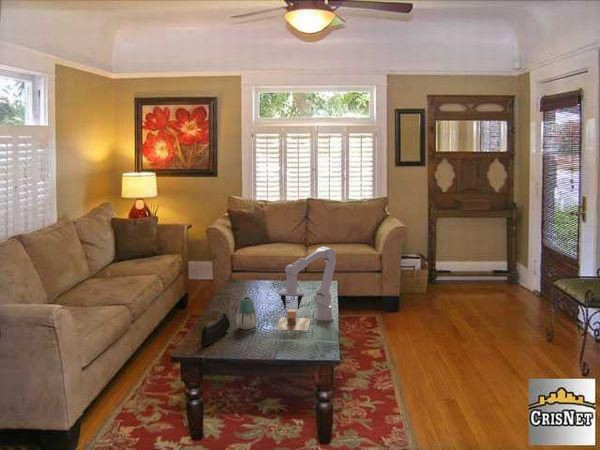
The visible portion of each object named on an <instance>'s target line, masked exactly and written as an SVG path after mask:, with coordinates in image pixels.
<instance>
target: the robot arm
mask: <svg viewBox="0 0 600 450" xmlns="http://www.w3.org/2000/svg"><path fill="white" fill-rule="evenodd" d="M336 255H337V253H336V251H335V250H334V248H330V247H327V246H324V245H323V246H320V247H318V248H317V249H316V250H315V251H313V252H312V253H310V254H309V255H308V256H306V257H299V258H298V259H297V260H296V261H295V262H292V263H290V264H287V265H286V266H285V269H284V272H285V273H286V291H279V292H278V297H280V299H281V302H282V304H283V307H284V309H286V308H287V297H297V310H299V309H300V305H301V302H302V300H303V298H304V297H305V292H300V291H299V292H298V291H297V289H298V288H297V287H298V286H297V283H298V282H297V281H298V280H297V276H298V274H299V272H300V271H302V270H304V269H305V268H306V267H308V266H309V264H310V263H311V262H314V261H315V260H317V259H319V258H320V259H323V260H324V261H325V263H326V264H325V267H324V271H323V277H322V279H321V280H322V281H321V284H320V288H319V289H317V291H316V294H315V295H314V298H313V299H314V303H315V305H316V320H317V321H332V319H333V307H332V305H331V303H332V298H331V297H332V294H331V292H330V290H331V285H332V281H333V275H334V272H335V268H336V263H337V260H336V259H337V258H336ZM286 310H287V309H286Z"/></svg>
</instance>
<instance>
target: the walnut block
mask: <svg viewBox="0 0 600 450" xmlns="http://www.w3.org/2000/svg"><path fill="white" fill-rule="evenodd" d="M286 318H287V317H286ZM296 318H297V317H296ZM296 318H287V325H296Z"/></svg>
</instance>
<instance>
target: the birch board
mask: <svg viewBox="0 0 600 450" xmlns="http://www.w3.org/2000/svg"><path fill="white" fill-rule="evenodd" d="M311 320H312V318H310V317H302V318H301V317H296V325H287V317H283V316H282V317H280V319H279V321H278V324H277V326H276V328H275V331H276V330H280V331H308V330H309V326H310V322H311Z"/></svg>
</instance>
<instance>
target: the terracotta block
mask: <svg viewBox="0 0 600 450" xmlns="http://www.w3.org/2000/svg"><path fill="white" fill-rule="evenodd" d="M286 316H287V317H286V318H297V309H289V308H288V310H287V313H286Z"/></svg>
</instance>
